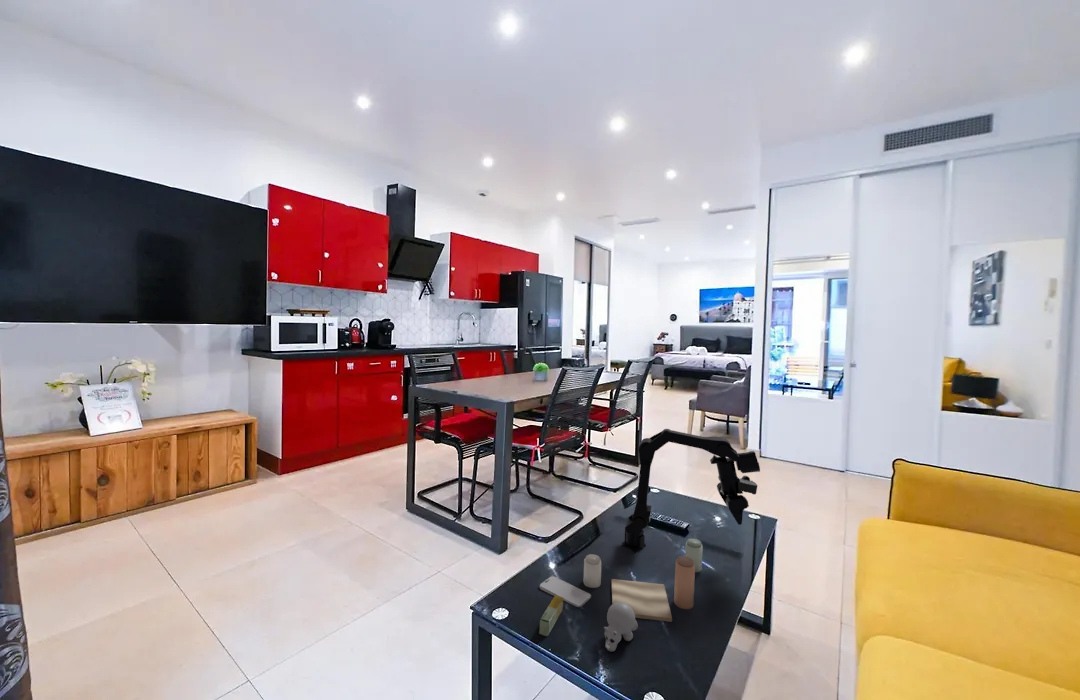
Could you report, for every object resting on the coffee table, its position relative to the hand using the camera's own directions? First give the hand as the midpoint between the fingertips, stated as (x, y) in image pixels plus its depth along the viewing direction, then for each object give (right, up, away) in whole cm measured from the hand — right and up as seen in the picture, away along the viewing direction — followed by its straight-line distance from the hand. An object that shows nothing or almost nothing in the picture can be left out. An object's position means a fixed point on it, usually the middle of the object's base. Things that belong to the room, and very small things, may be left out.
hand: (736, 518), depth 150 cm
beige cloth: (-39, -15, -22) cm, 47 cm away
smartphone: (-60, -15, -19) cm, 65 cm away
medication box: (-65, -16, -32) cm, 74 cm away
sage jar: (-16, -15, -4) cm, 23 cm away
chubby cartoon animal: (-48, -16, -39) cm, 64 cm away
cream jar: (-52, -15, -14) cm, 55 cm away
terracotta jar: (-26, -16, -23) cm, 38 cm away
